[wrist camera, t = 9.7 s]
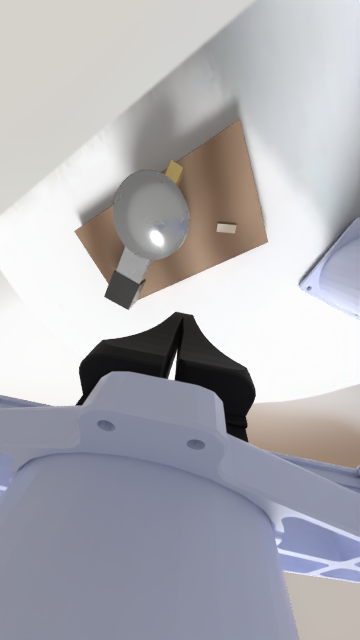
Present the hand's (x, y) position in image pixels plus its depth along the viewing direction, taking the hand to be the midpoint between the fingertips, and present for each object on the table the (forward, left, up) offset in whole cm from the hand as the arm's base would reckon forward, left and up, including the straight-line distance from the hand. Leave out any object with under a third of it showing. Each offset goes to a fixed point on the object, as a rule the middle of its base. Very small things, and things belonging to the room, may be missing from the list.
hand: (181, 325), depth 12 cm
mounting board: (+5, -4, -10) cm, 12 cm away
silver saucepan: (+6, -3, -8) cm, 10 cm away
